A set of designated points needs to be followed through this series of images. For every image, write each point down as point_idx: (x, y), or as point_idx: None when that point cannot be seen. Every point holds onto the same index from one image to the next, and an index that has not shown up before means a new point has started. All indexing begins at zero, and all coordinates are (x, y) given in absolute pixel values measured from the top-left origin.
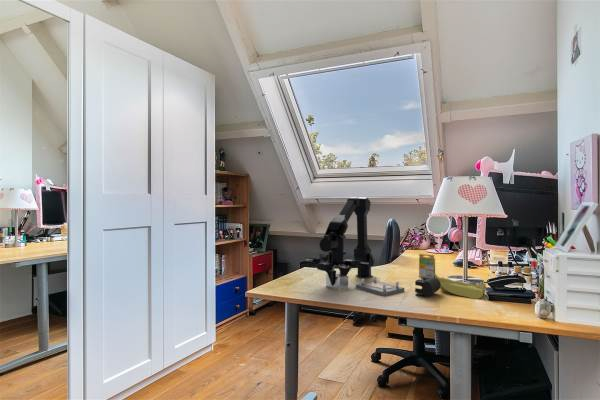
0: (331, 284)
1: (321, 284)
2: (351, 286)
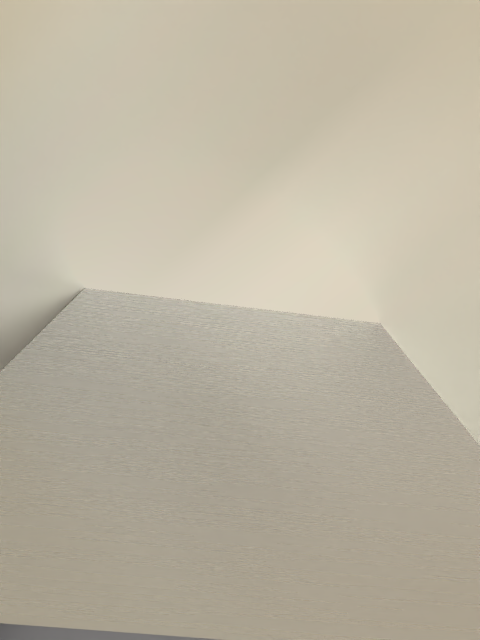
0: None
1: (92, 57)
2: None
